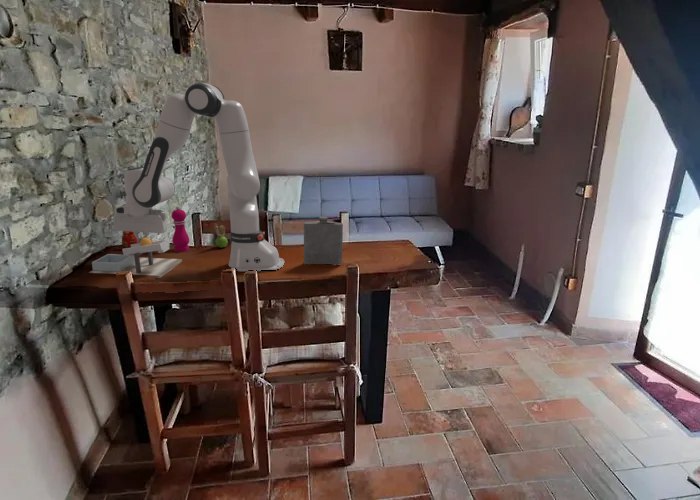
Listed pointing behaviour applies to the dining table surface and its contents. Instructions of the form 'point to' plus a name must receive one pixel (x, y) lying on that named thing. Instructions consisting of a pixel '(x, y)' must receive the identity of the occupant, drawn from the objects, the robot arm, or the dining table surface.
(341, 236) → the hip flask
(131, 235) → the red clay folk toy
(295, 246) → the dining table surface
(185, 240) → the pepper mill
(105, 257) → the grey open tray
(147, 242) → the ball
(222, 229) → the snail figurine
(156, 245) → the lever
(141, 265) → the base board
